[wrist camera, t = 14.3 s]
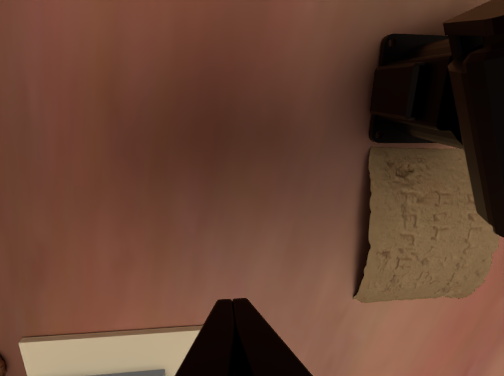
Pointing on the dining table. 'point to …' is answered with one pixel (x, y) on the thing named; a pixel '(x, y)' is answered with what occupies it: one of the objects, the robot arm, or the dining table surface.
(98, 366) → the placemat
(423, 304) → the dining table surface
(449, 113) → the robot arm
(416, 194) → the clay tablet
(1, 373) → the cookie
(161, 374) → the blue-grey block
